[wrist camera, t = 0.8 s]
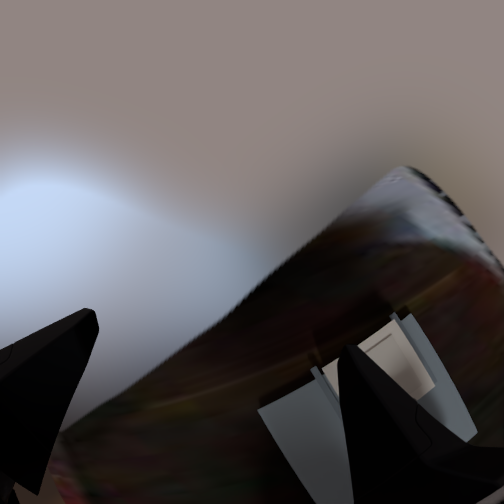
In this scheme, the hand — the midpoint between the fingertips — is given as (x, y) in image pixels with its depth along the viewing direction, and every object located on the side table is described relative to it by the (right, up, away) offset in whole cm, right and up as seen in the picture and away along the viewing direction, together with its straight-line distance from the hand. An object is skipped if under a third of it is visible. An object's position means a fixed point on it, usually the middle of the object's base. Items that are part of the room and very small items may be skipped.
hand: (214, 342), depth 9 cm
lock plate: (+11, -11, +7) cm, 17 cm away
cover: (+10, -6, +9) cm, 15 cm away
